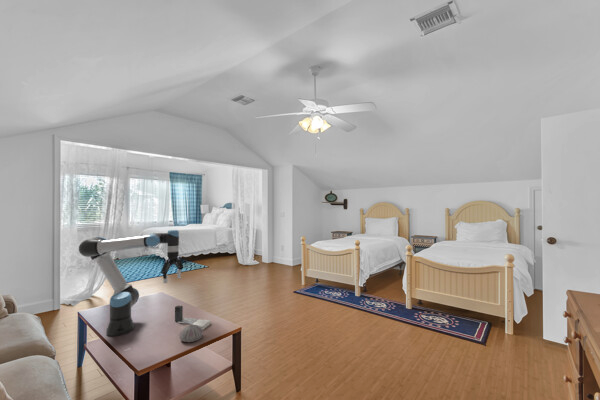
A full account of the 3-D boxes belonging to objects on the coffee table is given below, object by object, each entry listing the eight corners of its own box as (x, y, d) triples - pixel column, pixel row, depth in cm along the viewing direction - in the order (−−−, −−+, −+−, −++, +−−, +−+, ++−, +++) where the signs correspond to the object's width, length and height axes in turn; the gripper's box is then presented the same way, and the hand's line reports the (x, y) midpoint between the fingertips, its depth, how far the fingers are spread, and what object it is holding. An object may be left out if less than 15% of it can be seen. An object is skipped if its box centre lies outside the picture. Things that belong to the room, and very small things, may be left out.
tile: (190, 329, 181) (202, 330, 179) (190, 325, 181) (202, 326, 179) (198, 323, 191) (210, 324, 189) (198, 319, 191) (210, 320, 189)
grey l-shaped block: (191, 324, 188) (191, 309, 188) (172, 322, 192) (173, 308, 192) (197, 320, 195) (198, 306, 195) (179, 318, 198) (179, 304, 199)
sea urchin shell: (195, 331, 177) (195, 319, 177) (207, 337, 169) (207, 324, 169) (175, 339, 166) (175, 326, 167) (187, 346, 158) (187, 332, 158)
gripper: (164, 254, 188) (163, 285, 187) (188, 249, 212) (188, 276, 211) (155, 253, 190) (154, 284, 189) (180, 248, 214) (179, 276, 213)
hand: (172, 280), depth 200 cm, fingers open, 13 cm apart
